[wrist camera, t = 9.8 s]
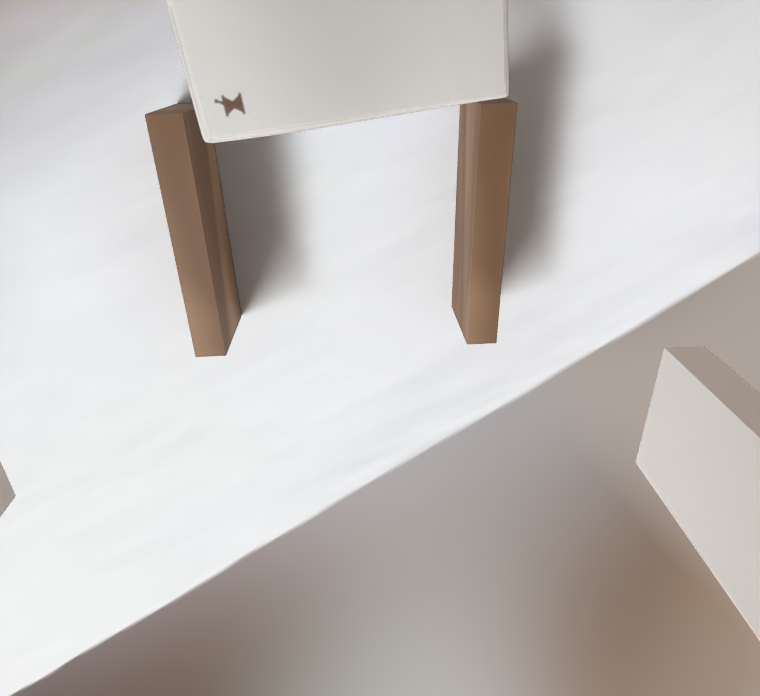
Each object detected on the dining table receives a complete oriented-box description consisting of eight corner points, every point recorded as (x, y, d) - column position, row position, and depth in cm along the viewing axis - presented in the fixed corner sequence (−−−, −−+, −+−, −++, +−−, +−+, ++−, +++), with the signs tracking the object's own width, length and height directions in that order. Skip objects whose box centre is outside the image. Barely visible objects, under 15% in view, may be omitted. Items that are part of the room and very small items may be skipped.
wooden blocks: (215, 316, 34) (195, 356, 30) (175, 103, 28) (144, 114, 24) (477, 305, 35) (496, 343, 30) (490, 94, 29) (517, 102, 24)
